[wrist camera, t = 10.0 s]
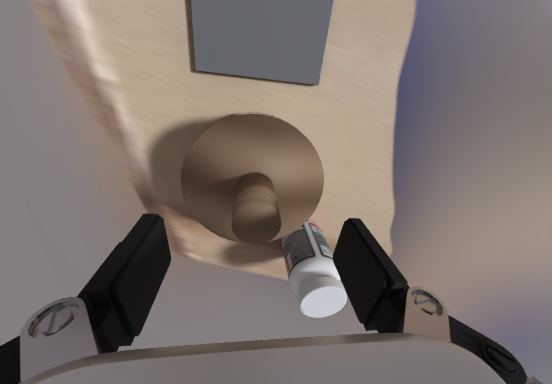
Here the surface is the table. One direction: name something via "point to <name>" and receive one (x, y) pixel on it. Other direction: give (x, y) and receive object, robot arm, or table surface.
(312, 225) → the pill bottle
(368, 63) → the table surface
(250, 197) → the lid
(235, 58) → the mat
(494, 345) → the robot arm
